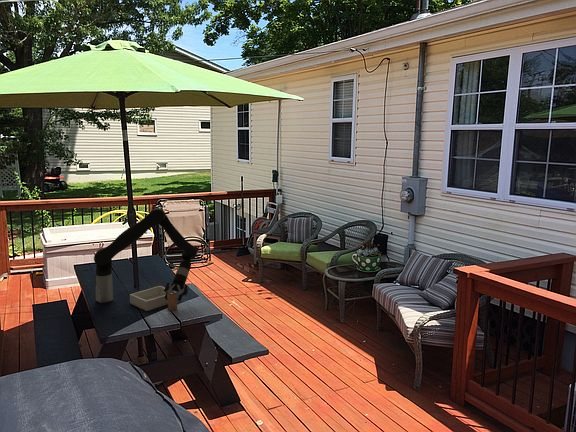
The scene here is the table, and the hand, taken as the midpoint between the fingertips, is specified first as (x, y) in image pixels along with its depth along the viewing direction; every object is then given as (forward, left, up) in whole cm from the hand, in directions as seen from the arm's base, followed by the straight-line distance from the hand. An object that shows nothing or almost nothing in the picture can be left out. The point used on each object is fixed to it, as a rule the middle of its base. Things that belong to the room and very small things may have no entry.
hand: (172, 300), depth 275 cm
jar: (0, 0, -6) cm, 6 cm away
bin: (-1, +18, -6) cm, 19 cm away
